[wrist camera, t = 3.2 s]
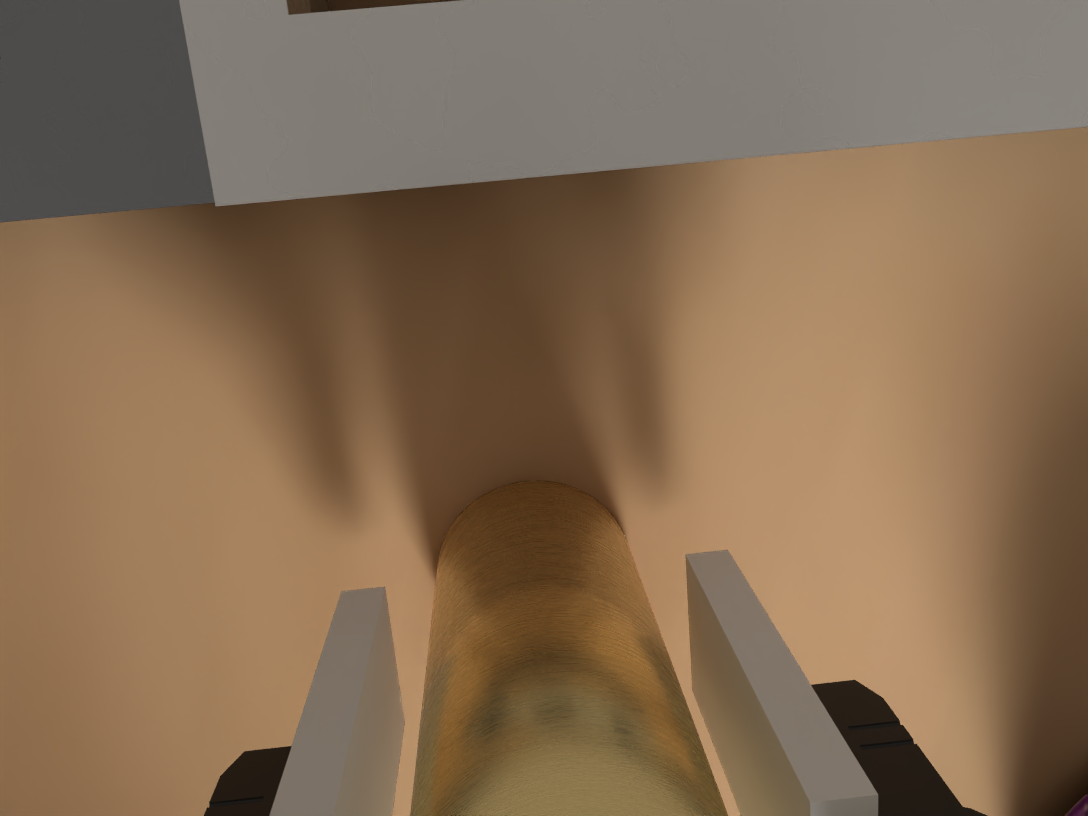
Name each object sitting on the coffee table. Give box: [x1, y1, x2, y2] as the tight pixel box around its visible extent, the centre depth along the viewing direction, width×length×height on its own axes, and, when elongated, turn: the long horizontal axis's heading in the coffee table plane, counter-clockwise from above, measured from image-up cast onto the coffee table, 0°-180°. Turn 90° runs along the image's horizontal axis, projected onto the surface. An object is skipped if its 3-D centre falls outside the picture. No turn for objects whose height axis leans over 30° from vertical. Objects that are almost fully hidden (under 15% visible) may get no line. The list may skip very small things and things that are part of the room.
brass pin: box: [410, 481, 728, 816], centre depth 14 cm, size 4×4×12 cm
